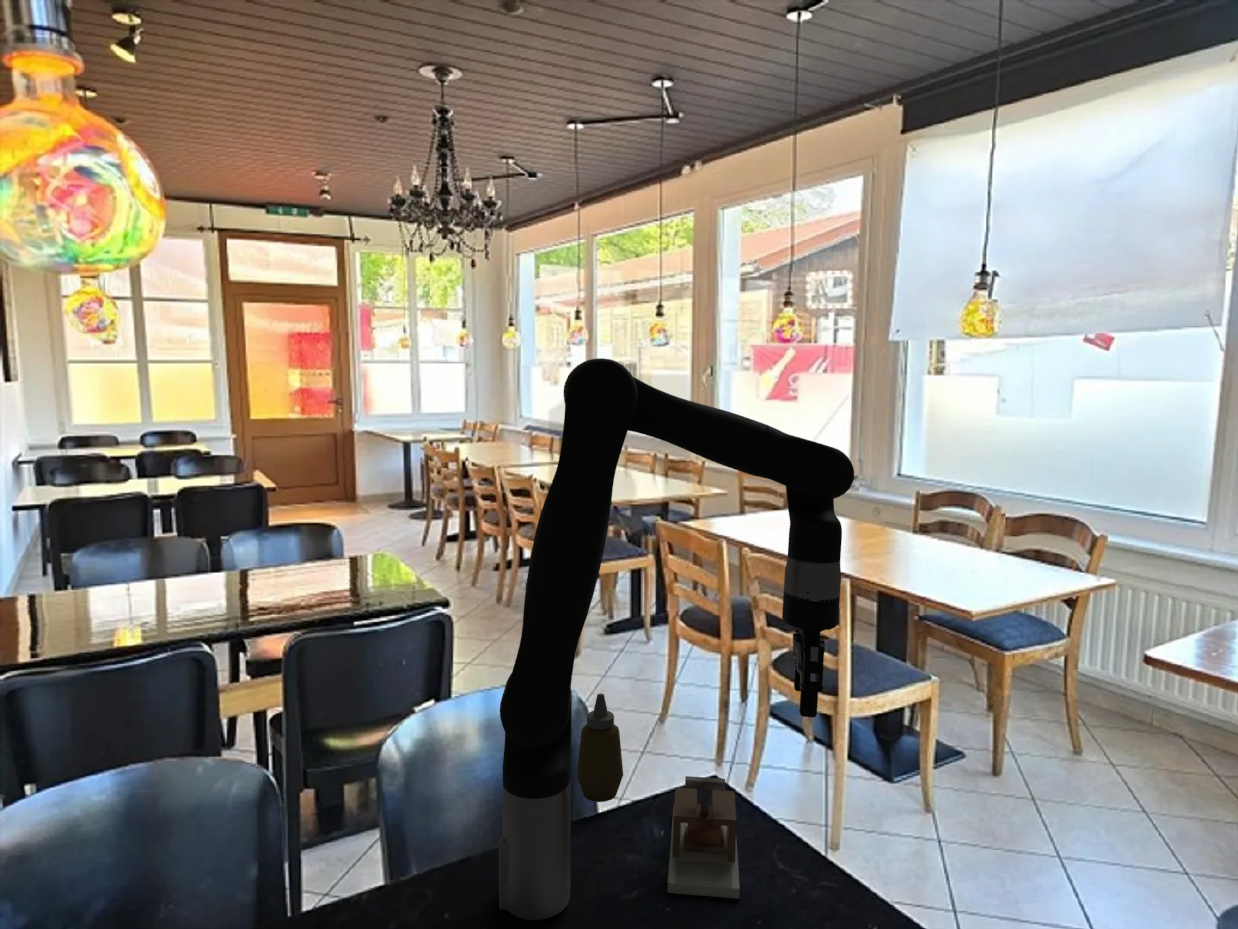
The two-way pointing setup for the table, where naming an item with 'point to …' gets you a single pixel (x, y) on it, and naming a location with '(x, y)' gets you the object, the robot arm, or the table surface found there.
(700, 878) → the tunnel
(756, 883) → the table surface
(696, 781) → the sled
